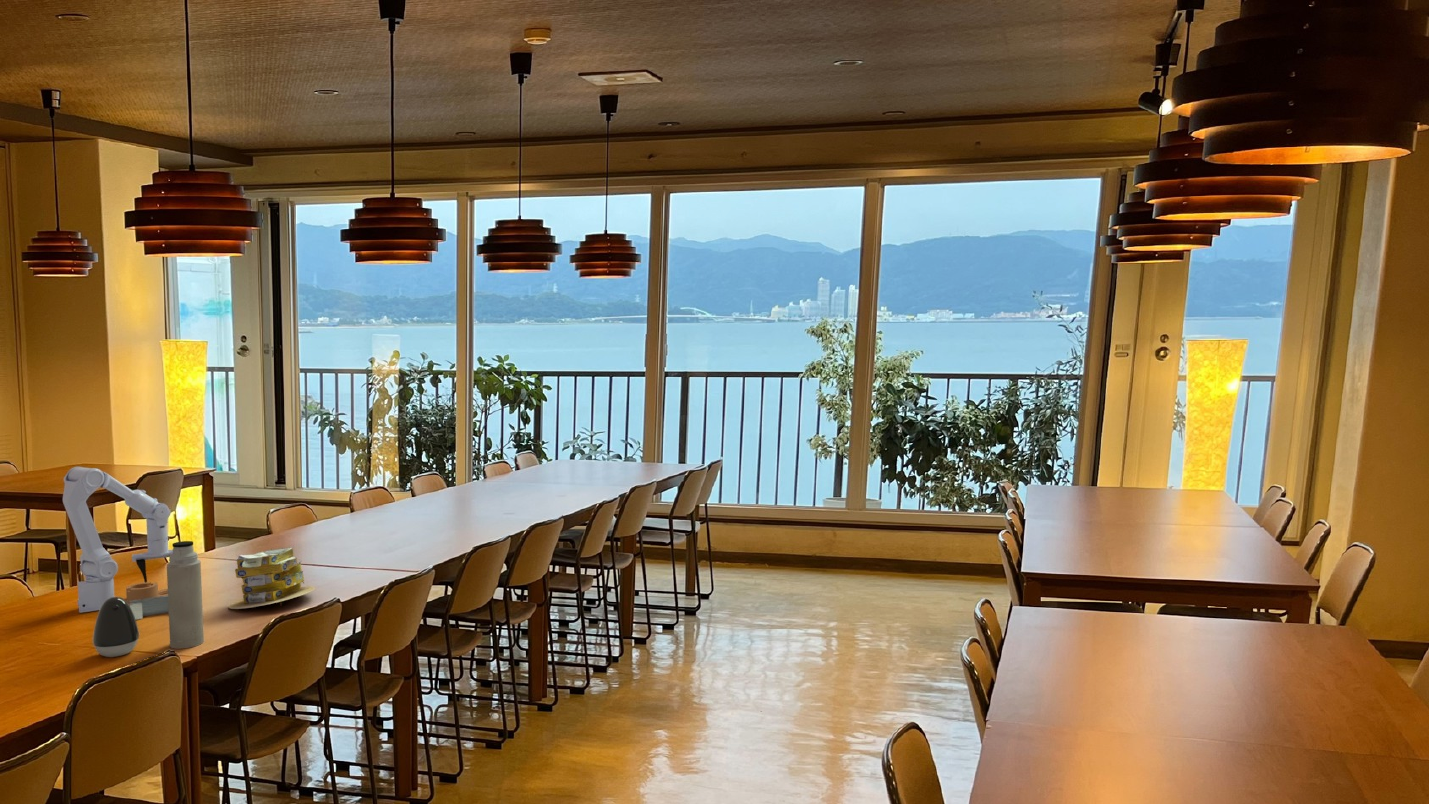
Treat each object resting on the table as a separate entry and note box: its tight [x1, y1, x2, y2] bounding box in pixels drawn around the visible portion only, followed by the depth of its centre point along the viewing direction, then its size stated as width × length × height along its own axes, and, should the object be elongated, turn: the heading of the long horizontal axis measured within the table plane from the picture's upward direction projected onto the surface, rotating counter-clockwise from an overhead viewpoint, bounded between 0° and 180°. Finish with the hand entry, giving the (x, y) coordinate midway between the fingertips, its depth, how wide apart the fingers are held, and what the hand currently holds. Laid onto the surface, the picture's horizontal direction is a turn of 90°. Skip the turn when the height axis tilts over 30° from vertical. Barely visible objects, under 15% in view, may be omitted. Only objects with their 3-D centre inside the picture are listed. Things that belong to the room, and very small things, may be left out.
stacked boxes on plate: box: [228, 547, 316, 610], centre depth 290 cm, size 25×25×17 cm
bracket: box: [125, 581, 168, 606], centre depth 290 cm, size 18×8×7 cm, turn 159°
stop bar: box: [130, 596, 169, 621], centre depth 278 cm, size 17×4×5 cm, turn 123°
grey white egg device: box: [92, 596, 140, 658], centre depth 242 cm, size 10×10×15 cm
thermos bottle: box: [166, 540, 205, 650], centre depth 249 cm, size 8×8×28 cm
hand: (159, 580), depth 301 cm, fingers open, 7 cm apart
